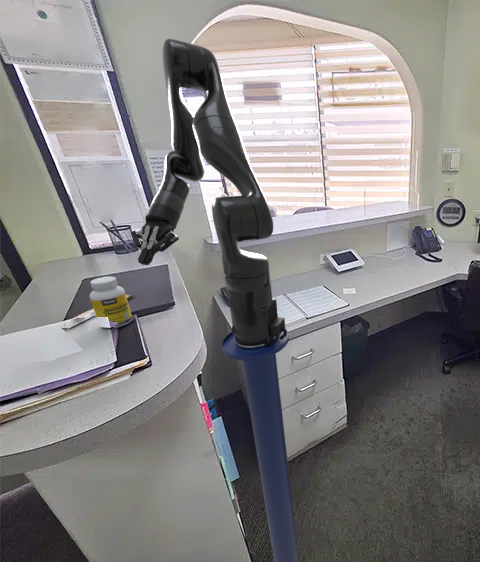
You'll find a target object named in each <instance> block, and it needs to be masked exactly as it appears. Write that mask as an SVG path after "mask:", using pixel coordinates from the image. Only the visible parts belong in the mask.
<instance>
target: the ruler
mask: <svg viewBox="0 0 480 562" xmlns="http://www.w3.org/2000/svg"><path fill="white" fill-rule="evenodd" d="M126 297H127V301H129V300H131V299H132V298H133V297H132V295H130V294H126ZM93 310H94V308H93V307H92V308H91V309H89V310H87V311H85V312H83V313H81V314H78V315H76V316H74V317H72V318H70V319H69V320H71V319H76V318H83V317H84V316H85V315H87V314H88V313H90V312H91V311H93Z"/></svg>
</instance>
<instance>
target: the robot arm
mask: <svg viewBox="0 0 480 562" xmlns="http://www.w3.org/2000/svg"><path fill="white" fill-rule="evenodd" d="M162 45H163V46H162V65H163V72H164V73H163V74H164V82H165V88H166V89H165V90H166V95H167V96H166V97H167V103H168V108H169V114H170V123H171V131H170V132H171V134H170V135H171V137H170V139H171V140H170V141H171V148H172V150H171V151H169V152H167V154H165V156H164V172H163V178H162V180H161V181H162V182H161V184H160V186H159V189H158V190H157V193H156V194H155V196H154V197H153V199H152V201H151V203H150V206H149V208H148V210H147V212H146V214H145V217H144V220H145V223H144V224H143V225H142V226H141V229H139V230H132V231H131V233H130V234H131V236H132V239H133V243H134V245H135V247H137V248H138V249H139V250H141V251H140V253H139V255H138V258H137V262H138V263H139V264H141V266H149V265H150V264H151V263H152V262H153V260H154V257H155V254H157V253H158V252H161V253H163V252H164V251H166V250H167V249H168V248H170V247H171V246H172V245H174V244H175V243H176V242H177V241H179V240H180V237H179V236H178V235H176V234H175V233H174V232H175V230H176V229H177V226H178V224H179V222H180V218H181V216H182V214H183V211H184V208H185V203H186V201H187V199H188V196H189V194H190V189H191V188H190V185H189V184H188V183H187V182H186V180H188V181H190V182H194V183H196V182H197V183H198V182H200V181H201V180H202V179H203V178H204V176H205V171H206V170H205V169H206V168H205V163H204V160H205V161H206V162H207V163H208V164H209V165H210V166H211V167H212V168H214V169H215V171H217V172H218V173H219V174H221V175H222V176H223V177H224V178H226V179H227V180H228V181H229V182H230V183H232V185H234V187H235V188H236V189H237V190H238V192H239V193H240V195H228V196H217V197H215V198H214V199H213V201H212V204H211V213H212V220H213V225H214V229H215V234H216V237H217V241H218V246H219V252H220V257H221V263H222V268H223V274H224V275H223V277H224V281H225V282H224V283H225V287H226V293H227V299H228V306H229V312H230V317H231V323H232V326H231V332H233V331H234V336H235V344H236V345H237V346H238V347H240V348H242V349H258V348H262V347H270V346H271V345H272V343H273V342H274V341H275V339H276V338H277V336H278V337H279V336H280V334H281V333H282V331H283V332H284V333H283V335H282V336H281V337H280V339H281V340H283V338H285V337H286V335H287V331H288V330H287V328H286V320H285V317H281V316H280V317H279V315H278V314H279V311H278V303H277V298H273V290H272V282H271V281H272V280H271V271H270V263H269V262H270V261H269V259H268V257H266V255H264V254H262V253H261V254H260V253H258V252H257V253H256V252H251V251H246V250H243V249H241V248H239V245H238V243H244V242H253V241H259V240H265V239H268V238H270V237H271V236H272V235H273V232H274V219H273V216H272V211H271V209H270V206H269V204H268V200H267V199H266V195H265V193H264V191H263V190H262V188H261V186H260V184H259V181H258V179H257V177H256V175H255V172H254V170H253V168H252V165H251V162H250V159H249V156H248V154H247V151H246V147H245V144H244V141H243V139H242V138H243V137H242V134H241V133H240V130H239V127H238V124H237V122H236V120H235V117H234V115H233V112H232V110H231V106H230V103H229V101H228V98H227V94H226V91H225V86H224V82H223V77H222V74H221V71H220V68H219V63H218V60H217V58H216V56H215V54H214V53H213V52H212V51H211V50H210V49H208V48H206V47H204V46H201V45H197V44H193V43H190V42H186V41H182V40H178V39H174V38H166V39H165V40H164V42H163V44H162ZM182 89H187V90H192V91H199V92H203V93H205V94H207V96H206V98H205V99H204V101H203V102H202V103H201V105H200V106H199V108H197V109H196V112H195V114H193V112H192V110H191V109H190V108H189V106H188V104H187V103H186V101H185V99H184V97H183V92H182ZM203 159H204V160H203ZM184 179H185V180H184ZM285 328H286V329H285Z"/></svg>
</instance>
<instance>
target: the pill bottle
mask: <svg viewBox="0 0 480 562" xmlns="http://www.w3.org/2000/svg"><path fill="white" fill-rule="evenodd" d="M90 286H91V288H92V289H93V290H92V291H91V292H90V294H89V300H90V303H91V305H92V309H93V308H94V311H95V314H96V316H97V317H108V319H109V321H112V322H117V323H118V325H115V327H114V328H113V329H118V328H121V327H123V326H125V325H128V324H130V323H131V322H132V320H133V315H132V311H131V308H130V305H129V300H127V297H126V295H127V294H126V291H125V289H124V288H123V287H122V286H120V285H118V281H117V278H116V277H115V276H102V277H97V278H94V279H92V280H91V281H90ZM96 316H95V317H96ZM97 317H96V318H97Z"/></svg>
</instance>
